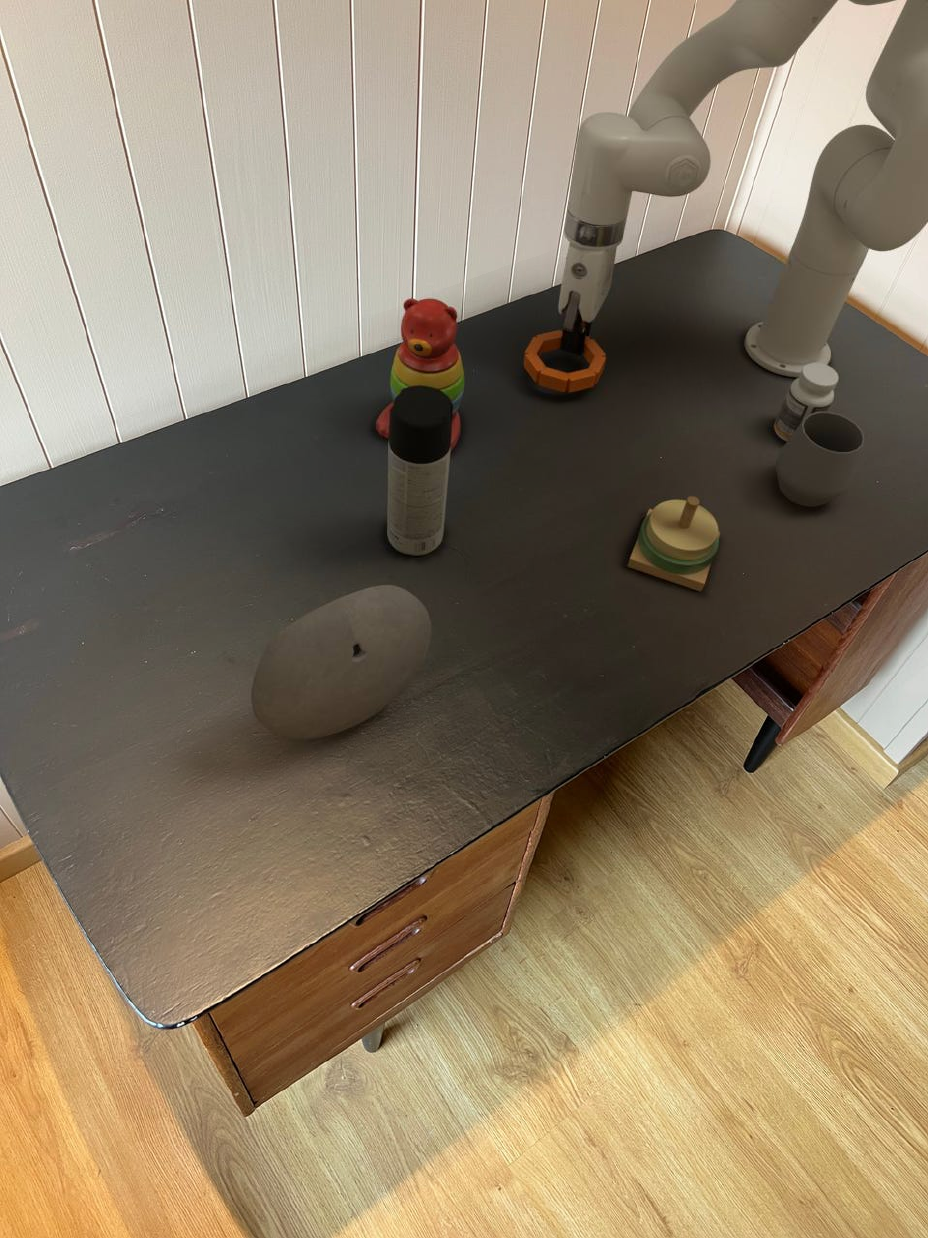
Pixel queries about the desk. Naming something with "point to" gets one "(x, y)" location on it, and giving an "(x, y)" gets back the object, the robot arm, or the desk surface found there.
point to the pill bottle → (806, 398)
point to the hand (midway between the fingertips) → (573, 346)
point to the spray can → (418, 468)
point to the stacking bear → (427, 357)
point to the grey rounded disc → (341, 663)
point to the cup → (819, 459)
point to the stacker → (677, 543)
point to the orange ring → (559, 378)
